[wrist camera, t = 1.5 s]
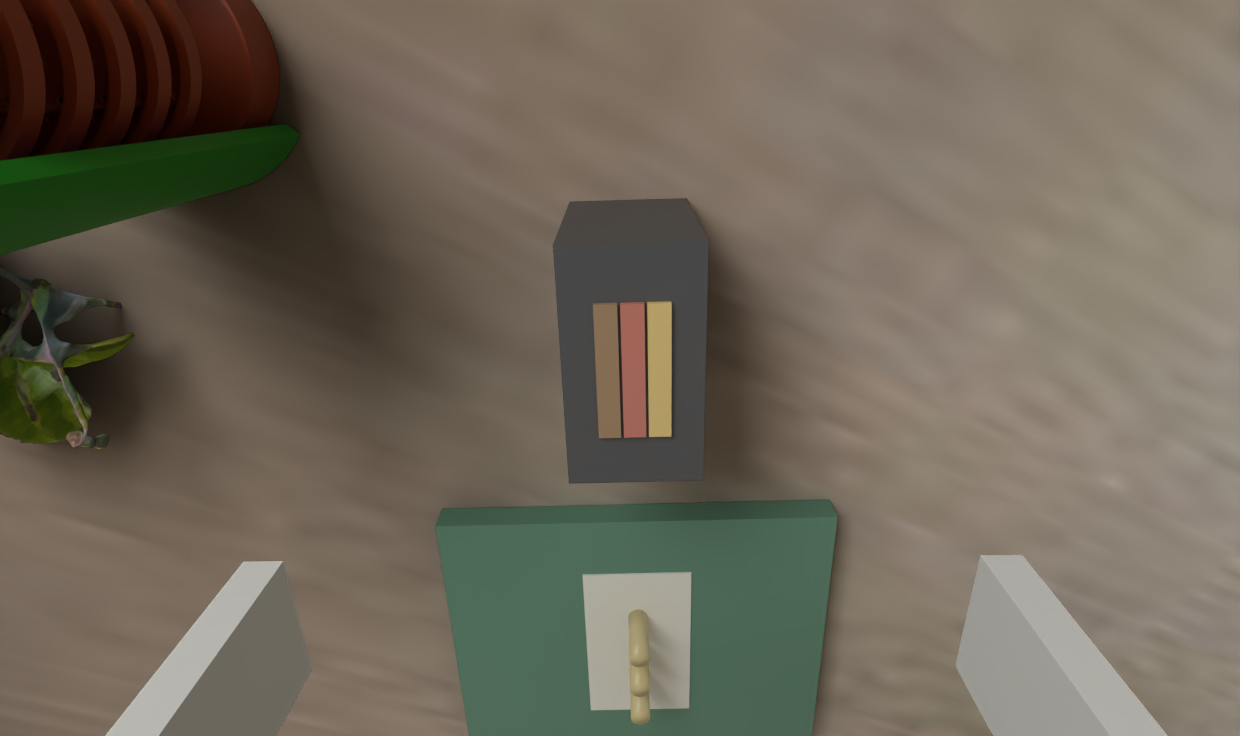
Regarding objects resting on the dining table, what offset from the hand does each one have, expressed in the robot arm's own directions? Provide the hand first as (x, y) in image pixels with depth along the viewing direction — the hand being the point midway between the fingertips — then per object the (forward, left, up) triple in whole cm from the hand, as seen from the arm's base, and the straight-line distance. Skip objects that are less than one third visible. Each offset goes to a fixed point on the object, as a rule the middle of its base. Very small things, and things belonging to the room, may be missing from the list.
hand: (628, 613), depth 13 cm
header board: (0, -19, -20) cm, 27 cm away
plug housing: (0, 0, -20) cm, 20 cm away
